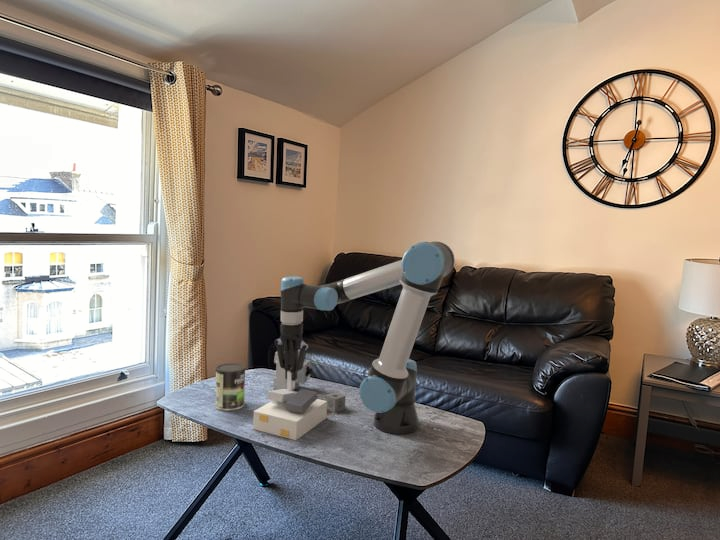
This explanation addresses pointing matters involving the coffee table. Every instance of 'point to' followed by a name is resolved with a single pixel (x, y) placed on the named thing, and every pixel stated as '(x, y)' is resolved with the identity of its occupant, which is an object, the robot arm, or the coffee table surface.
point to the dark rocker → (301, 401)
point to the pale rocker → (280, 395)
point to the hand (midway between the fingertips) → (290, 388)
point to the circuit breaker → (280, 379)
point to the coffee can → (230, 386)
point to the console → (288, 419)
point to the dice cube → (335, 402)
